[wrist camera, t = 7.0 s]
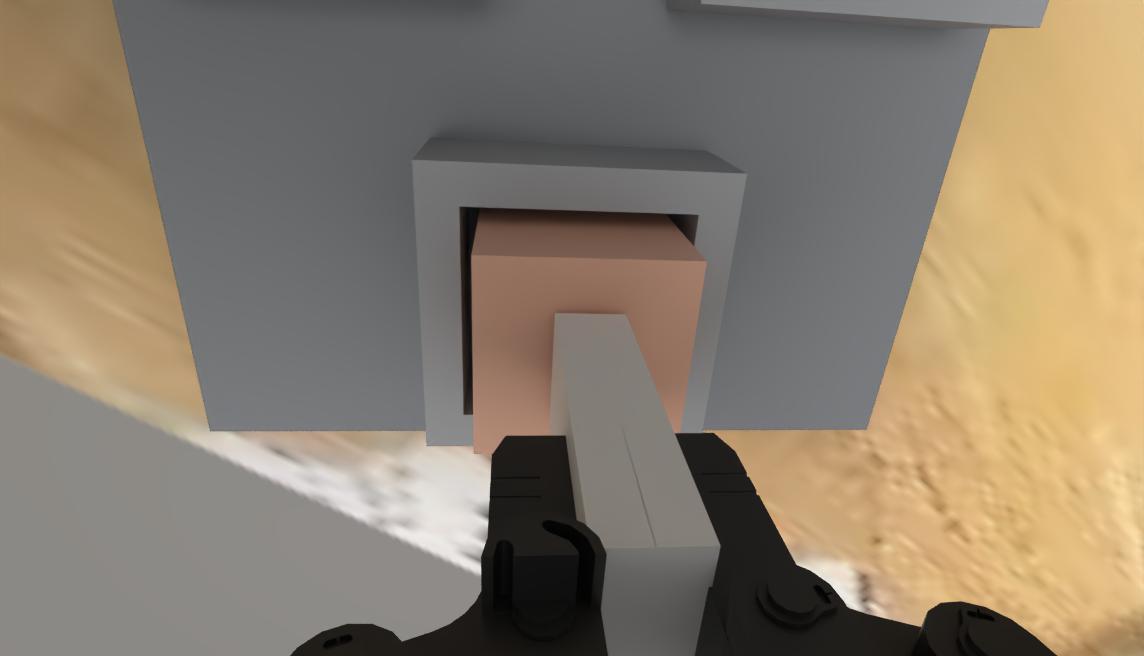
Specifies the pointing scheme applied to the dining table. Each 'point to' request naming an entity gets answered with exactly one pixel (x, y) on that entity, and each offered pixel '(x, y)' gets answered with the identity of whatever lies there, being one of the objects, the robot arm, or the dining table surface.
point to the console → (543, 184)
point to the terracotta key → (574, 305)
